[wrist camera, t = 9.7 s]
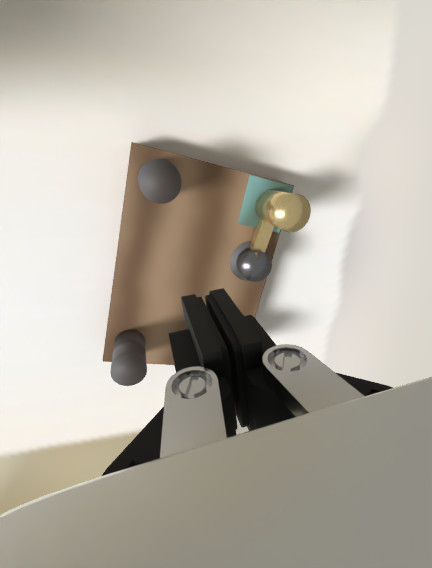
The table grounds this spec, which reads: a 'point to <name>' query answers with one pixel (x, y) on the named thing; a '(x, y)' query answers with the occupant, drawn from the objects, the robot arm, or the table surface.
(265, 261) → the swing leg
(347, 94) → the table surface
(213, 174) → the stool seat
